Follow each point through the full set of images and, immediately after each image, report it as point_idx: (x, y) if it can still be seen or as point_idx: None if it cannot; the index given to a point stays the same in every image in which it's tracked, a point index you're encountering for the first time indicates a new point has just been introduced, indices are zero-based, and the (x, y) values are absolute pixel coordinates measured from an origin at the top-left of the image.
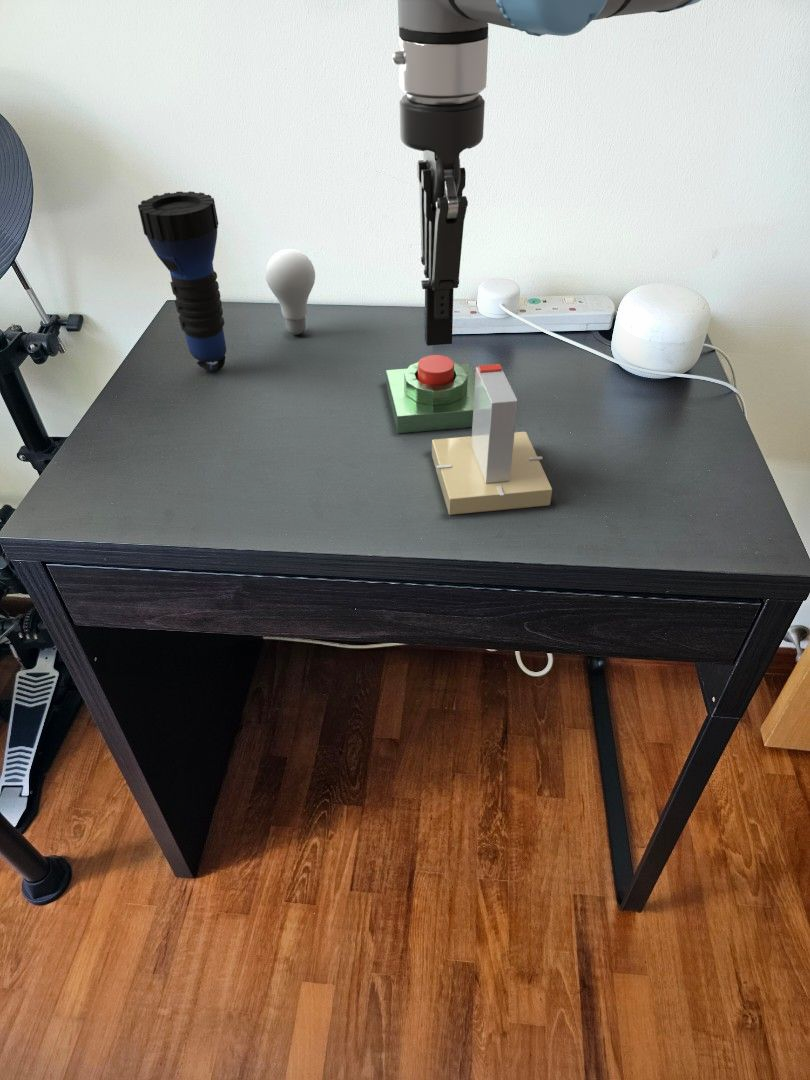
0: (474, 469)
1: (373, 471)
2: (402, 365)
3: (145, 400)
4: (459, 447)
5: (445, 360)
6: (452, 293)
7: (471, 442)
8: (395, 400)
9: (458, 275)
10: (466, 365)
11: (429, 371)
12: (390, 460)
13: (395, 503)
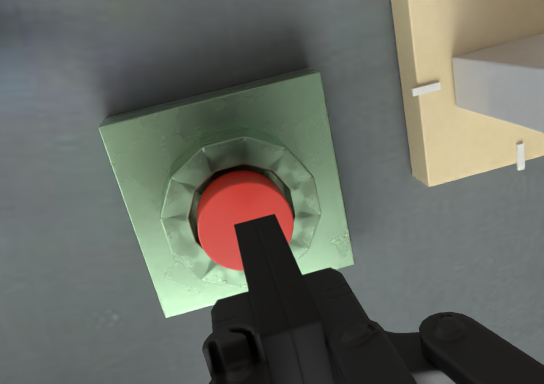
0: None
1: (453, 266)
2: (61, 279)
3: None
4: (458, 130)
5: (227, 206)
6: (311, 301)
7: (462, 108)
8: None
9: (514, 350)
10: (109, 136)
11: (289, 239)
12: (424, 245)
13: (537, 219)
